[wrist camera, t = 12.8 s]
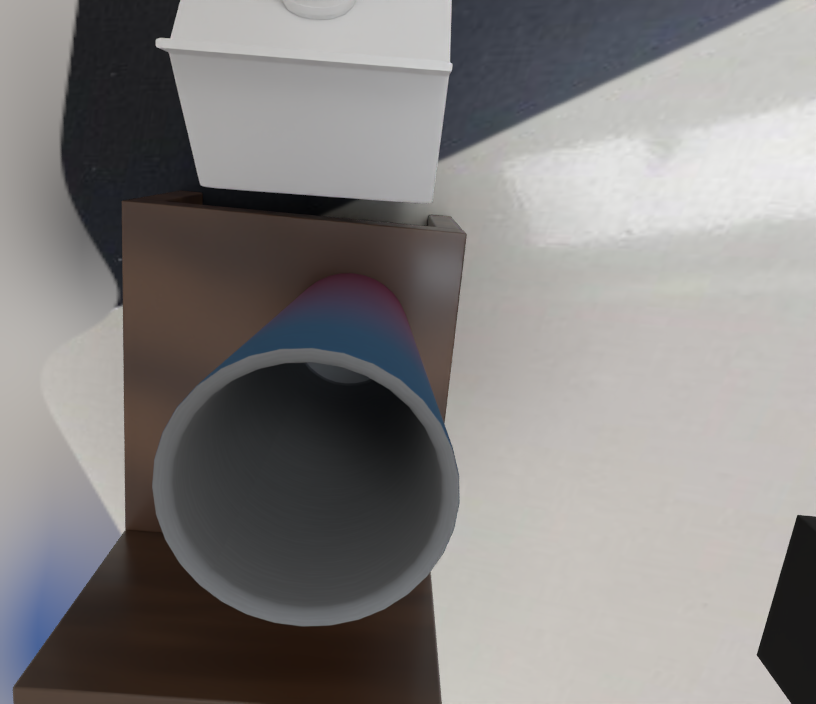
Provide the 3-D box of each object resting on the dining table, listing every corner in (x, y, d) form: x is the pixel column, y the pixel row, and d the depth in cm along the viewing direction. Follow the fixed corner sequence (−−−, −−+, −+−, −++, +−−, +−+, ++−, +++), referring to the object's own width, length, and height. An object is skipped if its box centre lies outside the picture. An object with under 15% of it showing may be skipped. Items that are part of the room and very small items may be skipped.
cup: (354, 216, 29) (313, 281, 14) (461, 338, 30) (522, 507, 16) (234, 324, 30) (86, 484, 16) (344, 436, 31) (300, 677, 17)
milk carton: (418, 184, 36) (439, 216, 18) (278, 173, 36) (157, 194, 18) (429, 33, 34) (466, -100, 16) (282, 21, 34) (151, -129, 16)
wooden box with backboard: (179, 190, 36) (-19, 224, 19) (451, 216, 37) (501, 273, 20) (176, 476, 41) (13, 718, 23) (420, 495, 41) (439, 745, 24)
